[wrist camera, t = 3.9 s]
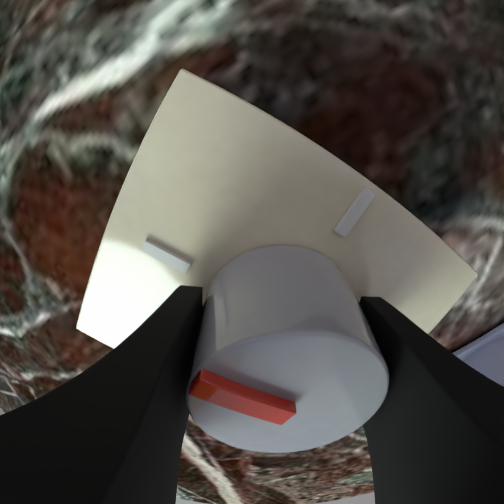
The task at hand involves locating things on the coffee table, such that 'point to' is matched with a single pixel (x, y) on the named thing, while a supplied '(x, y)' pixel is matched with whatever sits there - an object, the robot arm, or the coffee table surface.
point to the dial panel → (253, 216)
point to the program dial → (283, 354)
